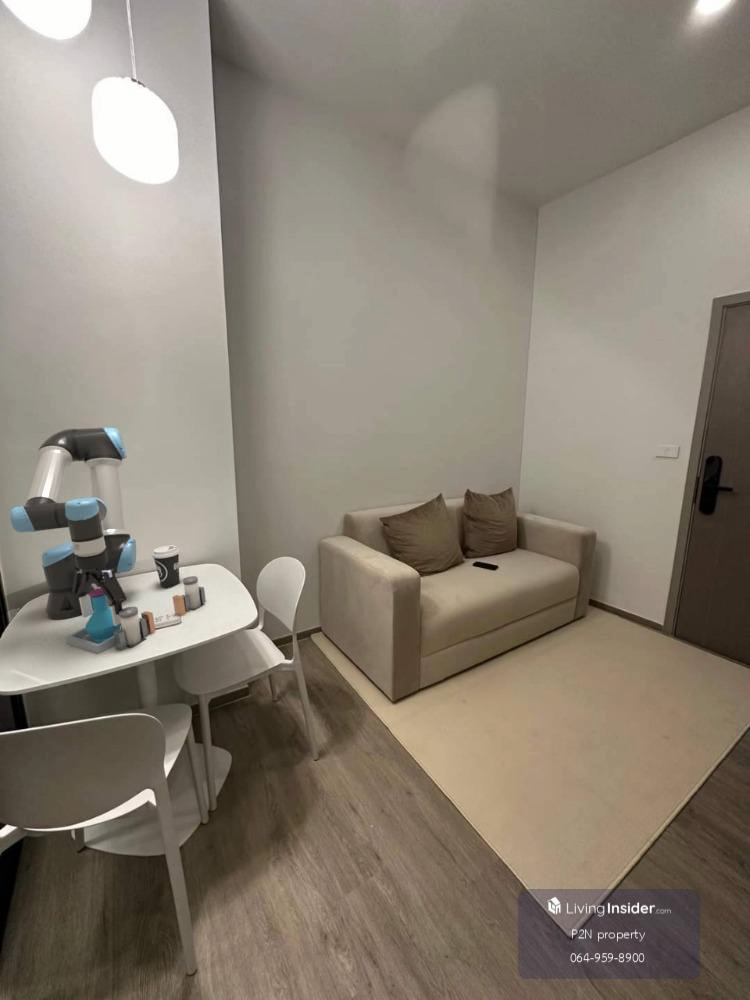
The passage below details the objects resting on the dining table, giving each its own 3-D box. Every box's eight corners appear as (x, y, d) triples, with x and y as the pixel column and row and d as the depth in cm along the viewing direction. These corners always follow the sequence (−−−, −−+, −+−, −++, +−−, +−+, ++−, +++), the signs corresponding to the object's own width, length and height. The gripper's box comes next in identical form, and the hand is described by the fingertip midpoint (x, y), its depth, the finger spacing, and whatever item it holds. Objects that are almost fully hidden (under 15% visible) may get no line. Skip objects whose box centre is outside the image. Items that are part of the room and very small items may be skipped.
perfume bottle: (131, 631, 122) (122, 586, 119) (100, 648, 114) (90, 599, 111) (112, 625, 126) (103, 581, 123) (81, 640, 118) (71, 594, 115)
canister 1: (119, 643, 115) (115, 612, 113) (134, 635, 119) (130, 605, 117) (130, 647, 114) (126, 616, 111) (145, 638, 118) (141, 608, 115)
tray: (67, 646, 116) (65, 637, 116) (113, 622, 129) (111, 614, 128) (99, 656, 111) (97, 646, 111) (144, 630, 124) (142, 621, 123)
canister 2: (183, 607, 136) (179, 580, 134) (194, 601, 140) (190, 575, 138) (193, 610, 134) (190, 582, 132) (204, 603, 139) (200, 577, 136)
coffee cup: (176, 589, 152) (171, 552, 149) (151, 590, 152) (145, 553, 149) (188, 579, 161) (183, 544, 158) (165, 579, 161) (159, 544, 158)
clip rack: (112, 650, 114) (108, 628, 112) (197, 601, 142) (194, 583, 141) (126, 654, 112) (122, 631, 110) (209, 603, 140) (207, 585, 139)
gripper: (48, 551, 115) (63, 618, 120) (107, 562, 106) (120, 633, 111) (75, 543, 122) (88, 606, 127) (133, 552, 113) (144, 620, 118)
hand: (103, 619), depth 119 cm, fingers open, 13 cm apart
